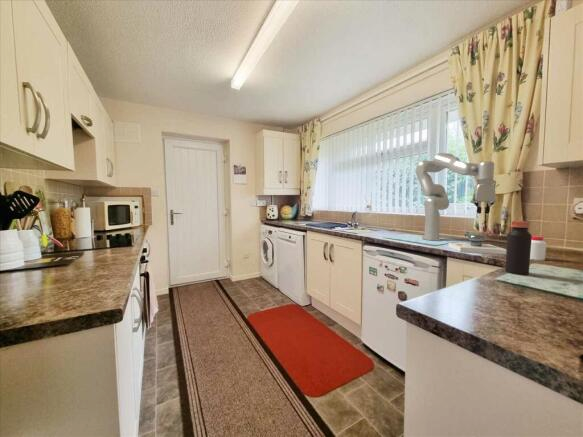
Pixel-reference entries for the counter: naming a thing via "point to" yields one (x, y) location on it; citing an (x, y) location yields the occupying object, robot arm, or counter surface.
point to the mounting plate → (477, 248)
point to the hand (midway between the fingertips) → (483, 213)
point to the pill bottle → (538, 248)
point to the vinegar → (518, 248)
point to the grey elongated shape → (475, 239)
